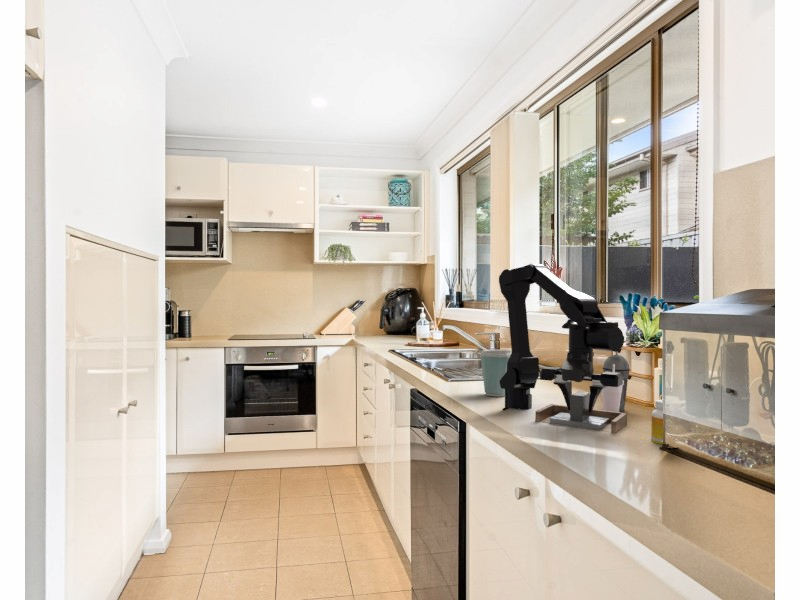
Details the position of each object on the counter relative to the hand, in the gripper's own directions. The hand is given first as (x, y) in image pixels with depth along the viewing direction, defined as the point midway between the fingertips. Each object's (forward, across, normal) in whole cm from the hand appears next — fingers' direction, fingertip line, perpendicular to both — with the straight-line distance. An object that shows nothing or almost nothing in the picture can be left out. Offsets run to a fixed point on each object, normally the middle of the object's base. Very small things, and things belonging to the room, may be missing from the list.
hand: (579, 411), depth 135 cm
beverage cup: (+4, +2, +28) cm, 29 cm away
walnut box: (+4, 0, 0) cm, 4 cm away
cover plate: (+3, 0, 0) cm, 3 cm away
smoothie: (+4, +3, +18) cm, 19 cm away
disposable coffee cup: (+4, -35, +28) cm, 45 cm away
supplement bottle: (+4, +20, -6) cm, 21 cm away
